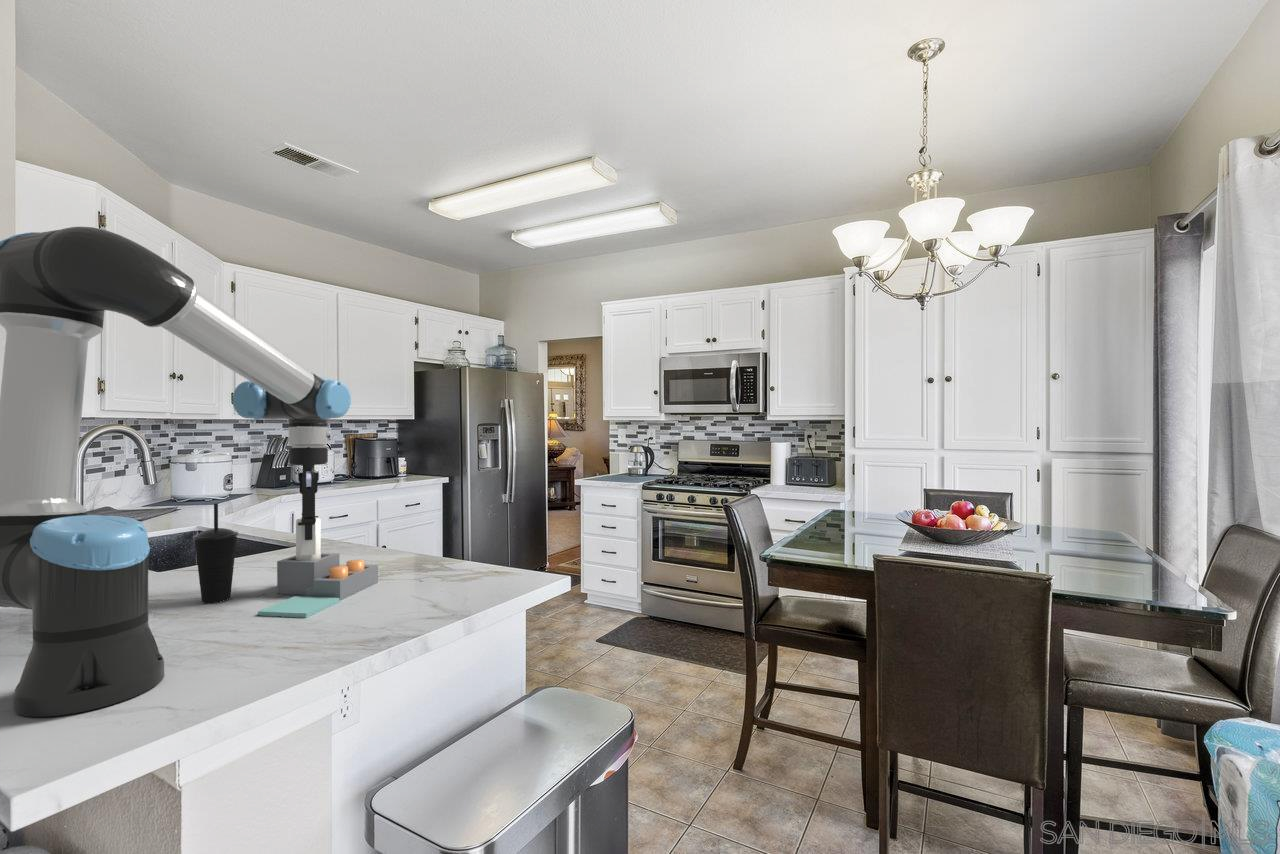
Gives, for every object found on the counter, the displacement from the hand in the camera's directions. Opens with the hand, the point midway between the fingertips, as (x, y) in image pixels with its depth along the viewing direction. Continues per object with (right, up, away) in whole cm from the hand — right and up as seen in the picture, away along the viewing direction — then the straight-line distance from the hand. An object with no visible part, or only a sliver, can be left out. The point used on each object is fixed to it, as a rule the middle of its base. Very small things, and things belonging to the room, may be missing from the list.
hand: (308, 552), depth 132 cm
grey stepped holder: (+4, -8, 0) cm, 9 cm away
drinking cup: (-15, -8, -8) cm, 19 cm away
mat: (+6, -8, -14) cm, 17 cm away
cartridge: (0, -8, 0) cm, 8 cm away
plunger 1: (+9, -8, -4) cm, 12 cm away
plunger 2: (+9, -8, +2) cm, 12 cm away
